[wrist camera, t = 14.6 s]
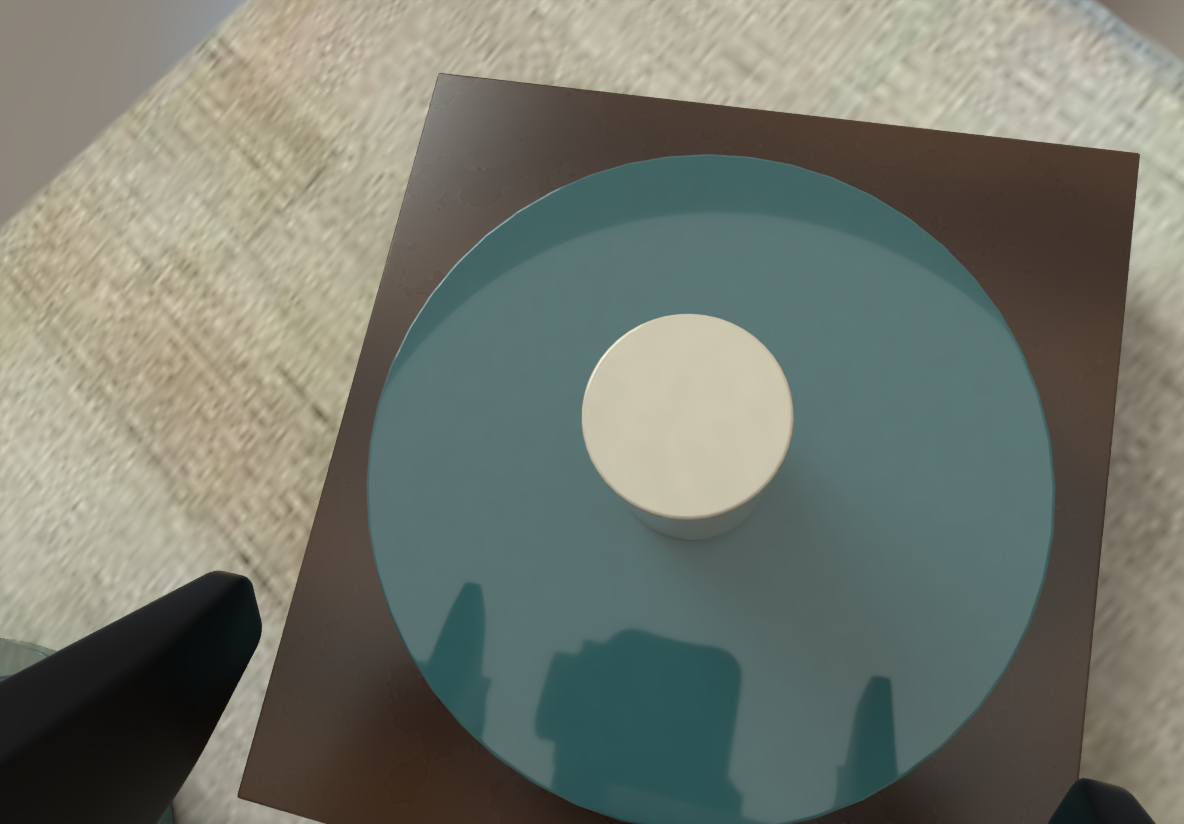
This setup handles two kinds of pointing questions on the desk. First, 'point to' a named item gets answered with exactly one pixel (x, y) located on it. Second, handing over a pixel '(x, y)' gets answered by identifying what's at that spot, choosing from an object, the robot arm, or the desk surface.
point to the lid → (710, 493)
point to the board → (680, 128)
